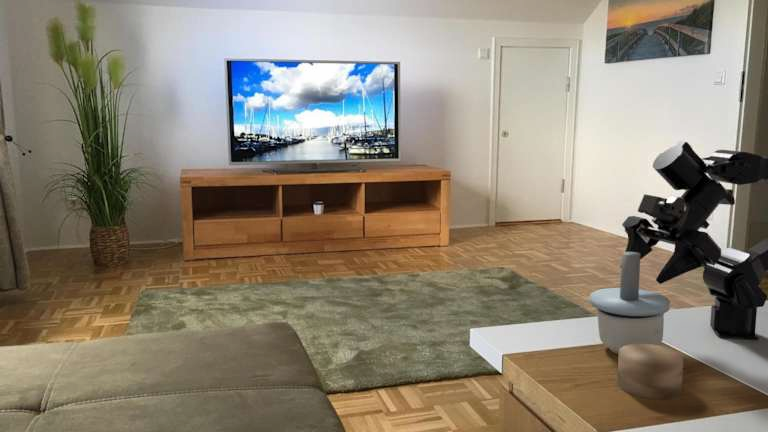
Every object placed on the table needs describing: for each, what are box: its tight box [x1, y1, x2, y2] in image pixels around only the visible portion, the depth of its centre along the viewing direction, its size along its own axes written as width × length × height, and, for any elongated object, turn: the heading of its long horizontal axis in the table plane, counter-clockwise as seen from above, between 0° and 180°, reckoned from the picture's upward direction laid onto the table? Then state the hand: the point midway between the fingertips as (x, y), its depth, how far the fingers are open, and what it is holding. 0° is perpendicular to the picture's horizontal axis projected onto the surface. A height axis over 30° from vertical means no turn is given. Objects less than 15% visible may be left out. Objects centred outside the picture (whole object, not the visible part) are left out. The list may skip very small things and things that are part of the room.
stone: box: [617, 344, 684, 400], centre depth 97 cm, size 9×9×5 cm
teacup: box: [596, 308, 665, 355], centre depth 112 cm, size 14×11×8 cm
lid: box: [589, 251, 671, 316], centre depth 110 cm, size 13×13×9 cm
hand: (639, 275), depth 111 cm, fingers open, 9 cm apart
